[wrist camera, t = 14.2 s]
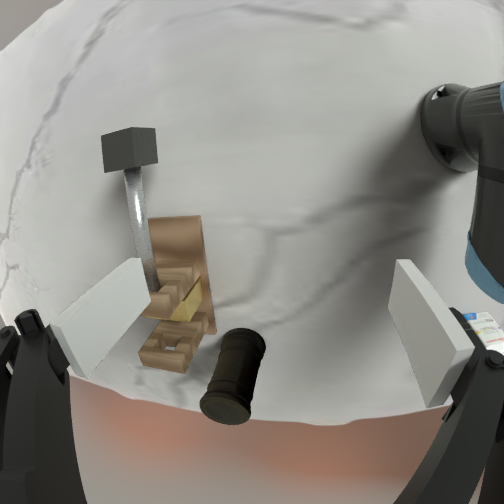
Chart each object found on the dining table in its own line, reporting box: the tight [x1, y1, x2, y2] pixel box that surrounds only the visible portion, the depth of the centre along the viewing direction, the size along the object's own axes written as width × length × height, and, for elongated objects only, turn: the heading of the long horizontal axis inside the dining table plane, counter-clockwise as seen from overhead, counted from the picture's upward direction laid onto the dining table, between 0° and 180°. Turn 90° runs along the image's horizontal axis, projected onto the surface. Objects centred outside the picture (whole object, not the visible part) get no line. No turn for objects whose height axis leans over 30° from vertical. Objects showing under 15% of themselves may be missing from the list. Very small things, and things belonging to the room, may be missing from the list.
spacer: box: [145, 277, 205, 322], centre depth 46 cm, size 4×8×8 cm, turn 93°
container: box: [200, 328, 266, 425], centre depth 46 cm, size 9×9×18 cm
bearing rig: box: [138, 216, 217, 374], centre depth 44 cm, size 24×10×15 cm, turn 3°
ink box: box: [463, 312, 504, 355], centre depth 39 cm, size 9×8×12 cm
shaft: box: [101, 127, 161, 292], centre depth 35 cm, size 24×5×6 cm, turn 3°
